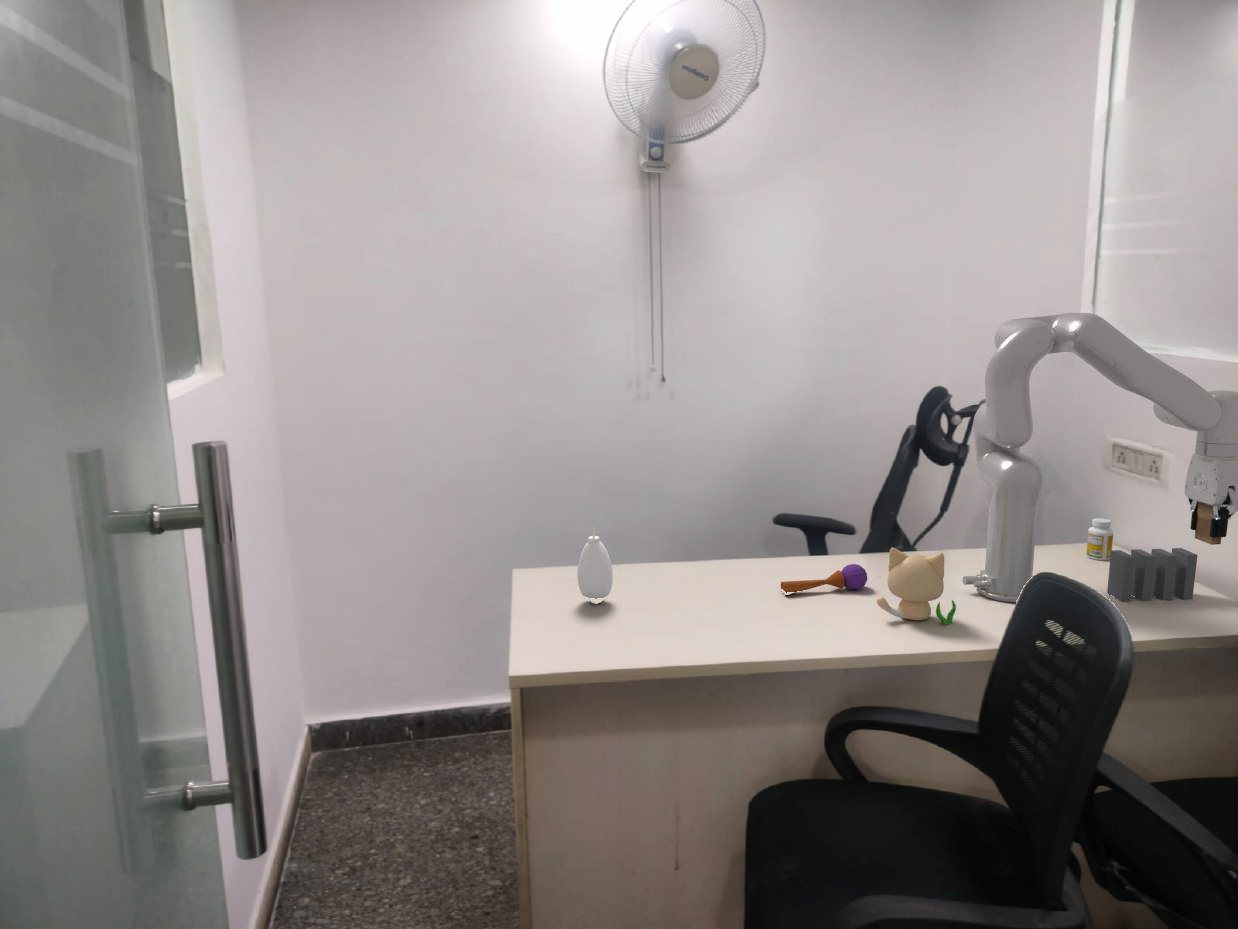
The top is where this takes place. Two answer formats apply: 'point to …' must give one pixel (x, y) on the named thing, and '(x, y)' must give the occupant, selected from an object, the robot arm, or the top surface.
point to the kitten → (916, 585)
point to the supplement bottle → (1100, 540)
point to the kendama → (832, 580)
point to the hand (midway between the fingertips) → (1208, 532)
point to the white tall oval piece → (595, 569)
